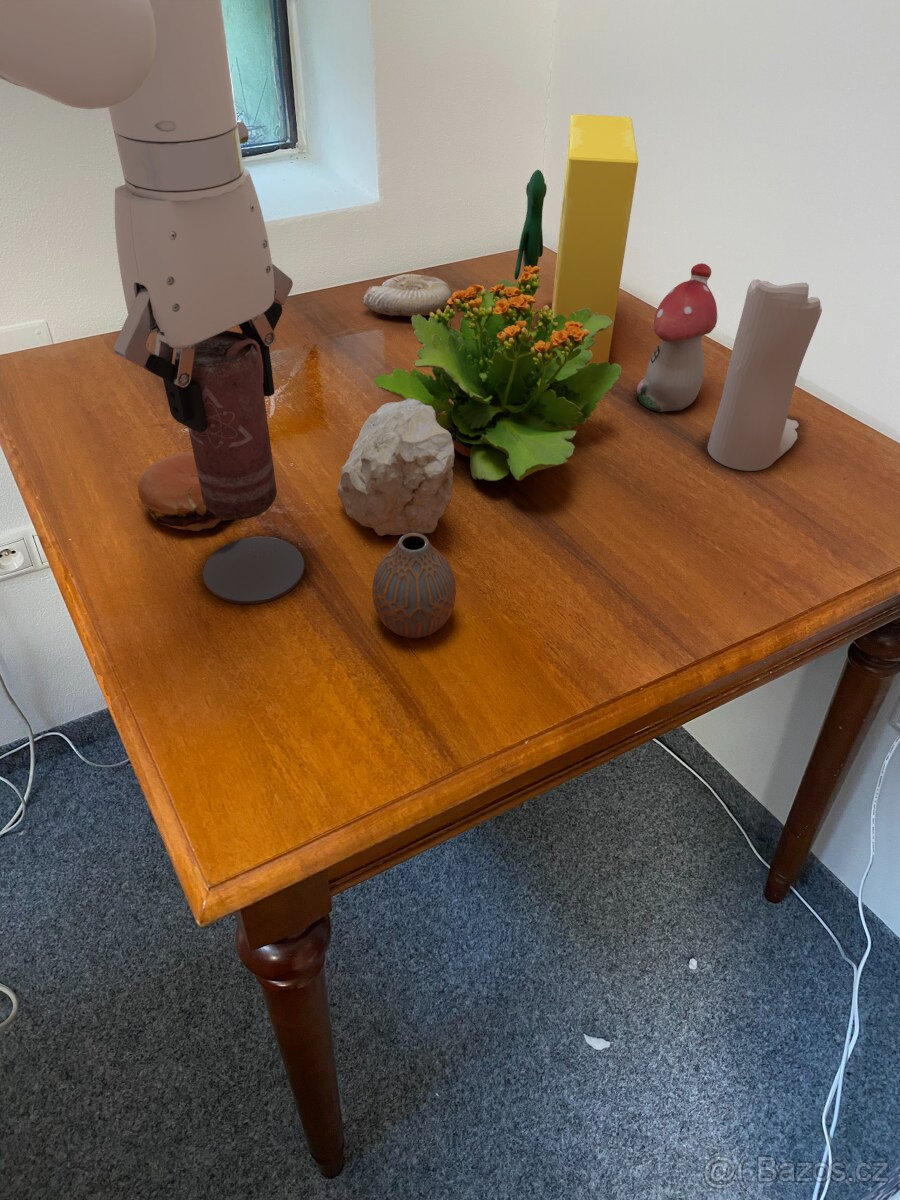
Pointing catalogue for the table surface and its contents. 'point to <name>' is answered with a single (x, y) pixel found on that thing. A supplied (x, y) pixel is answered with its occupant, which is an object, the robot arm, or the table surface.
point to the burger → (176, 494)
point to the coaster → (253, 570)
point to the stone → (399, 470)
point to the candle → (763, 376)
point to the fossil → (408, 296)
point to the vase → (414, 588)
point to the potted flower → (507, 377)
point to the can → (233, 428)
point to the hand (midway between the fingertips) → (225, 405)
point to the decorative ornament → (679, 344)
